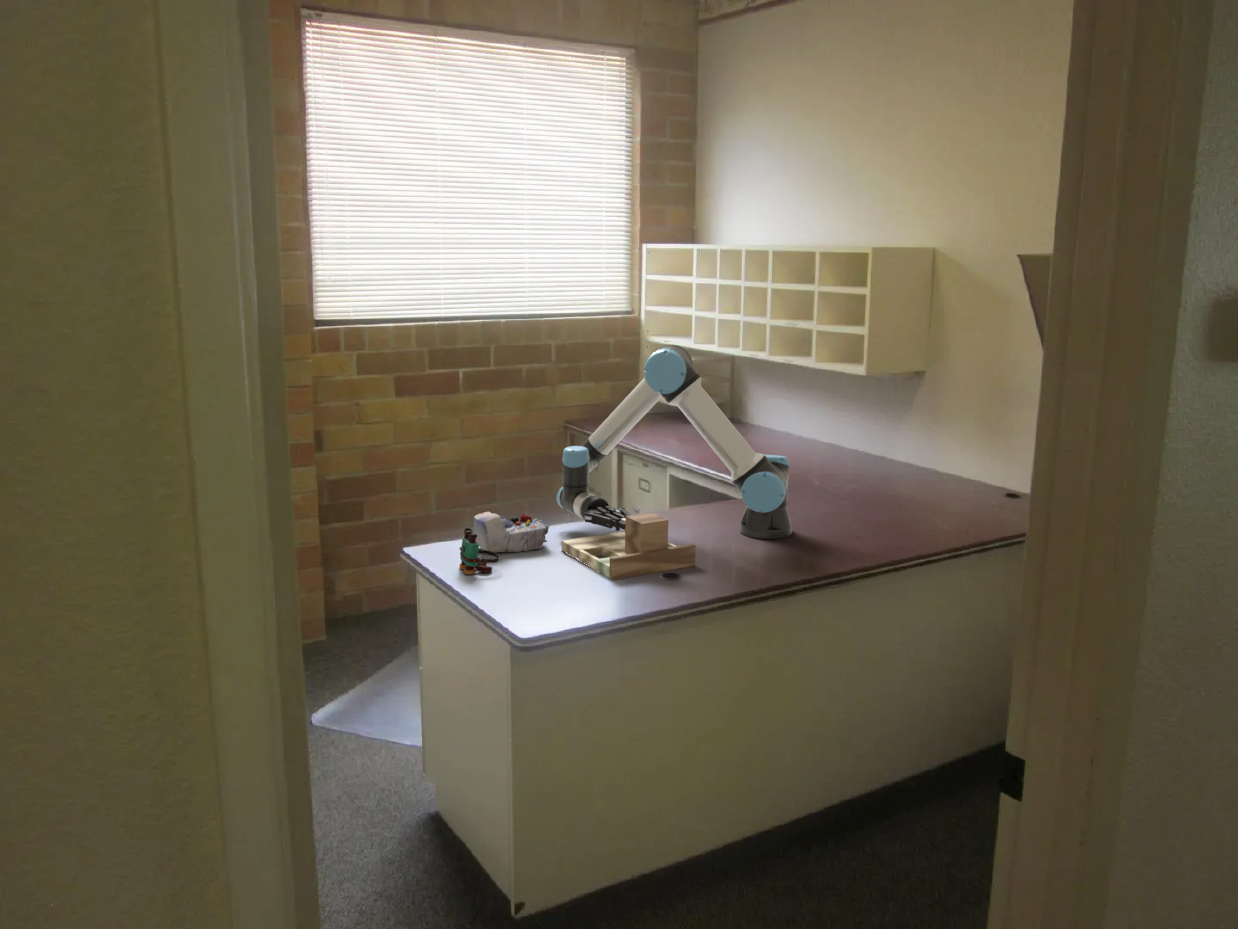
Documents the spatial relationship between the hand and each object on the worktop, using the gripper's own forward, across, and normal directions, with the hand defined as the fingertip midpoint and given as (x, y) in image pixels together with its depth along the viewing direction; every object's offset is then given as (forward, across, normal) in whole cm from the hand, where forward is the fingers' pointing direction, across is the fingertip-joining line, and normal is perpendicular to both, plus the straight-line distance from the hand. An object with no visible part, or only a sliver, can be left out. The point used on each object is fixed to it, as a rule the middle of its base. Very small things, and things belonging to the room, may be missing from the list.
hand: (635, 529), depth 262 cm
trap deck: (-4, 0, -9) cm, 10 cm away
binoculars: (-14, +38, -9) cm, 42 cm away
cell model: (-27, +23, -10) cm, 37 cm away
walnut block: (+4, -1, -6) cm, 7 cm away
